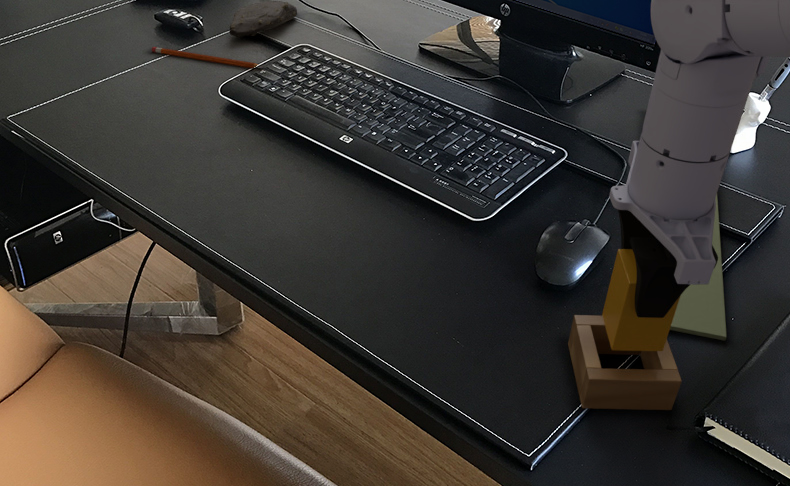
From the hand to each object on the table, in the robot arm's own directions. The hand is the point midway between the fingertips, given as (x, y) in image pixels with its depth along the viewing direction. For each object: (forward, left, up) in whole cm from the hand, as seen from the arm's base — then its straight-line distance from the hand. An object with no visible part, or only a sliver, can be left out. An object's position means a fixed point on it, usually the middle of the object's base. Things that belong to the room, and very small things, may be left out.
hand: (642, 293), depth 60 cm
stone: (+71, -37, -9) cm, 81 cm away
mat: (+4, -27, -9) cm, 29 cm away
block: (0, 0, -4) cm, 4 cm away
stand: (0, 0, -9) cm, 9 cm away
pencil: (+70, -24, -9) cm, 75 cm away
